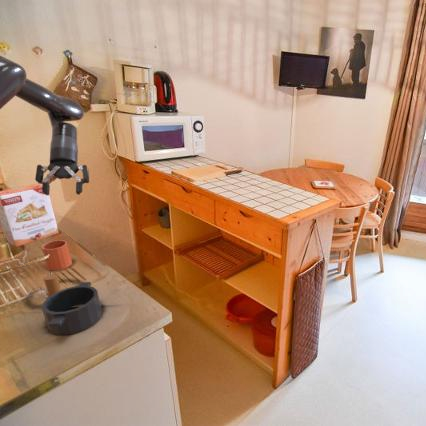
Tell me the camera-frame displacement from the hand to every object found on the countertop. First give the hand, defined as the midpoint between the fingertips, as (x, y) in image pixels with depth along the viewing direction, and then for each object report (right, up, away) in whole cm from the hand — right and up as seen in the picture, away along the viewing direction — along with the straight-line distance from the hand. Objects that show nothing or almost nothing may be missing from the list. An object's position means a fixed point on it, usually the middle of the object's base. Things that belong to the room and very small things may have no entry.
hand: (62, 194), depth 107 cm
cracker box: (-22, -17, +15) cm, 32 cm away
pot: (+21, -36, -21) cm, 46 cm away
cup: (0, -25, 0) cm, 25 cm away
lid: (+9, -31, -13) cm, 35 cm away
